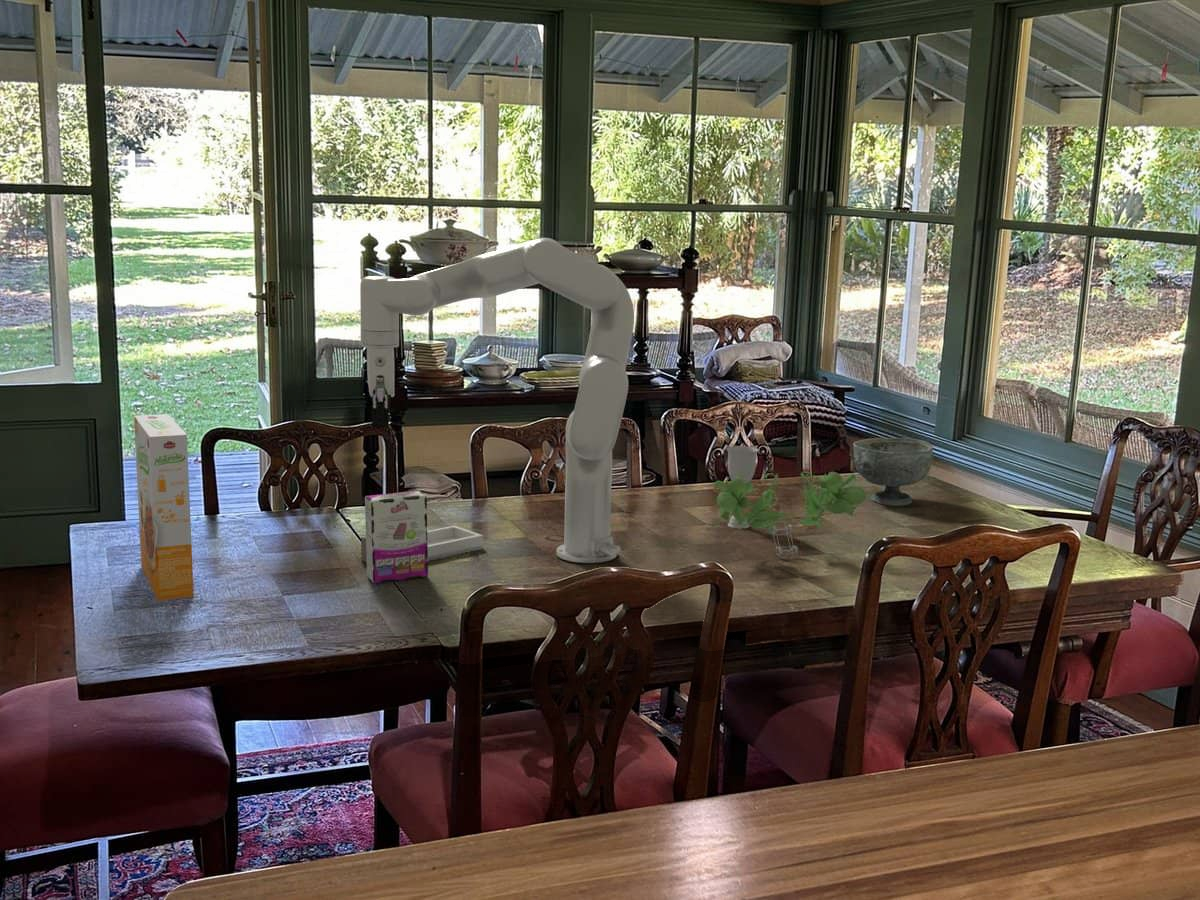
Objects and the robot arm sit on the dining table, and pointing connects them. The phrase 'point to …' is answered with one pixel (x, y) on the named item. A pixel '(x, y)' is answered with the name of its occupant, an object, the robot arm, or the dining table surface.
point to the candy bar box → (396, 536)
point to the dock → (452, 542)
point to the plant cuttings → (757, 515)
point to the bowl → (893, 465)
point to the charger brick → (363, 549)
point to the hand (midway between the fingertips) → (380, 423)
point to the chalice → (741, 470)
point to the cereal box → (164, 505)
